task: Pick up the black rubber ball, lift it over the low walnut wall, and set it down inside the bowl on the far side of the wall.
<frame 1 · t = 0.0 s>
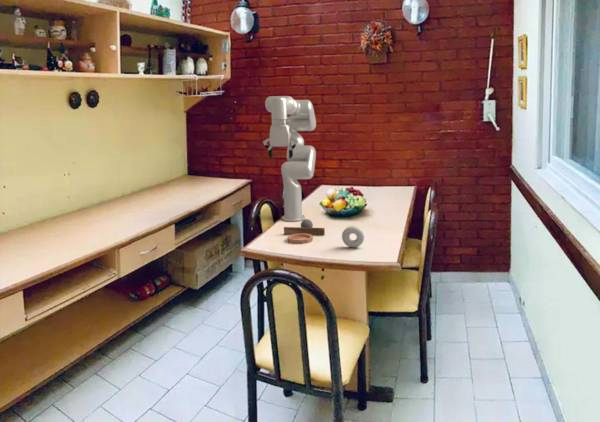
hand: (280, 158, 274), 37 cm above the table, tool pointing down, fingers open, 9 cm apart
donut: (353, 248, 250), on the table
wall: (304, 234, 273), on the table
ball: (306, 225, 279), point 3 cm above the table
bowl: (300, 240, 263), on the table
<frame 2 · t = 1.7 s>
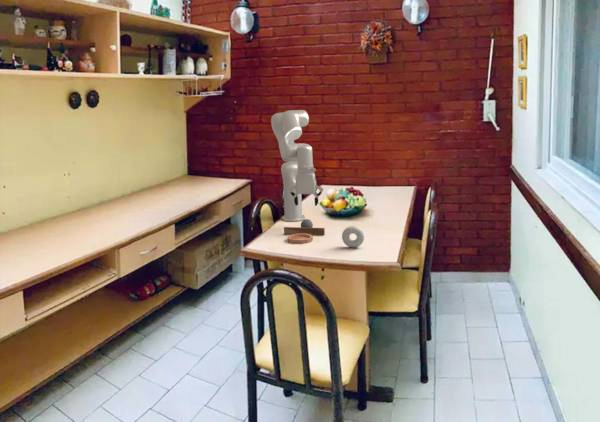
hand: (306, 205, 276), 13 cm above the table, tool pointing down, fingers open, 9 cm apart
nothing on the table moved.
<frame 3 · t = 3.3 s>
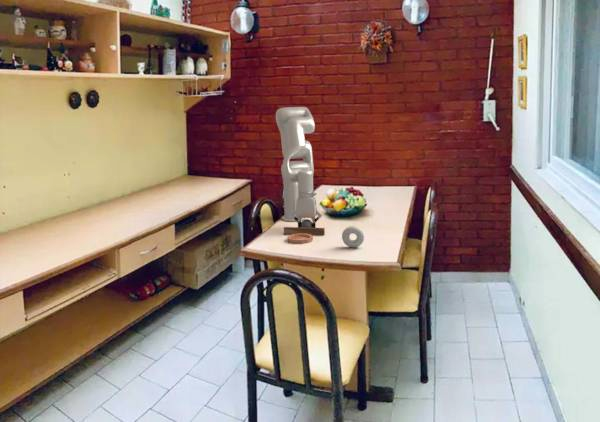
hand: (306, 229, 279), 1 cm above the table, tool pointing down, fingers closed on ball, 5 cm apart
ball: (306, 225, 279), point 3 cm above the table, touching gripper
everything else where it was.
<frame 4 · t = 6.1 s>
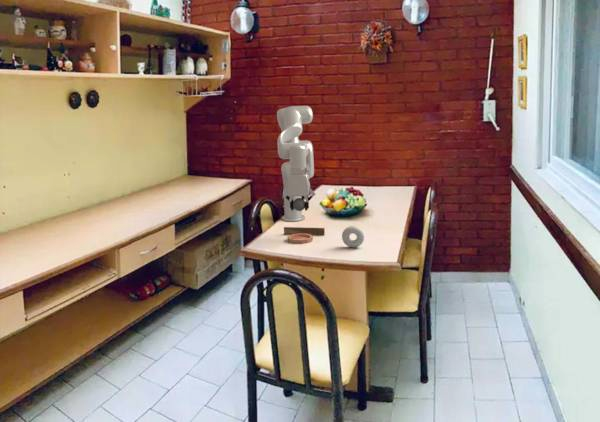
hand: (299, 209, 260), 15 cm above the table, tool pointing down, fingers closed on ball, 5 cm apart
ball: (299, 204, 260), point 17 cm above the table, touching gripper
everything else where it was.
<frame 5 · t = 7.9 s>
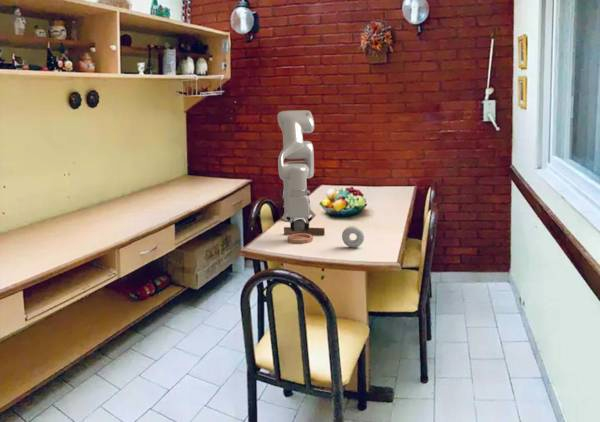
hand: (299, 230, 262), 5 cm above the table, tool pointing down, fingers closed on ball, 5 cm apart
ball: (299, 225, 262), point 7 cm above the table, touching gripper
everything else where it was.
when the fingers open (3 cm above the table, at t = 9.3 s): ball drops 2 cm, resting on bowl.
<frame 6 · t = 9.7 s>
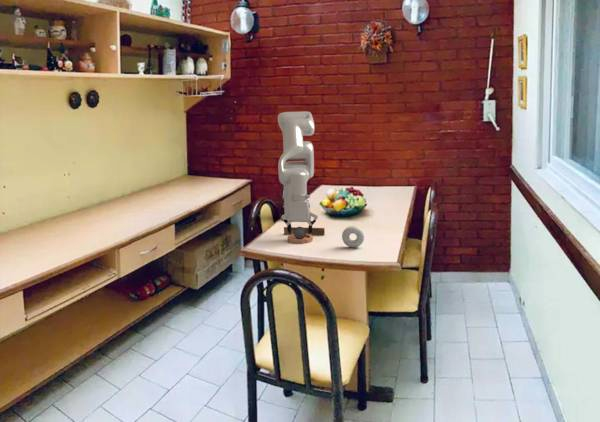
hand: (300, 233, 263), 3 cm above the table, tool pointing down, fingers open, 9 cm apart
ball: (299, 233, 263), point 4 cm above the table, touching bowl
everything else where it was.
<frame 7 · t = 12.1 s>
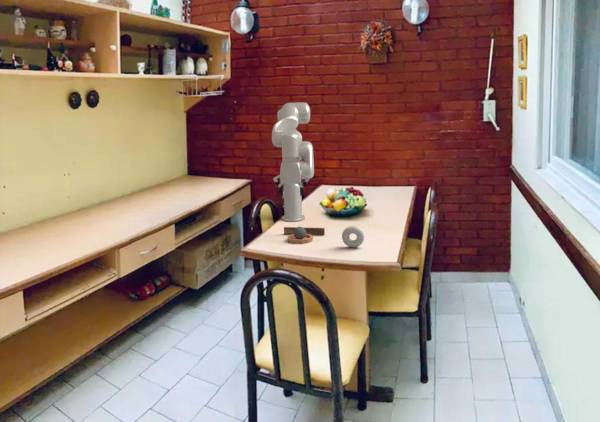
hand: (291, 195, 266), 20 cm above the table, tool pointing down, fingers open, 9 cm apart
nothing on the table moved.
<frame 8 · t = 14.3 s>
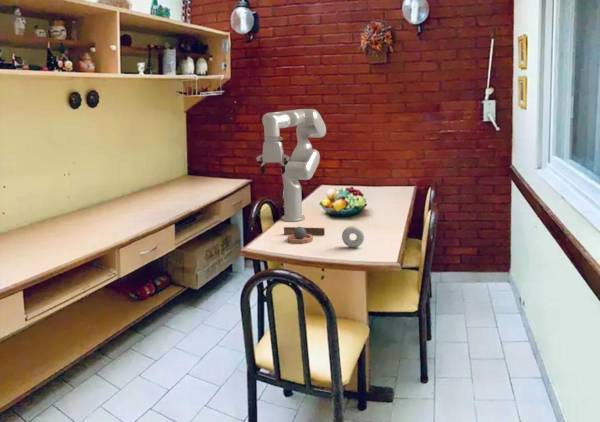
hand: (273, 173, 280), 28 cm above the table, tool pointing down, fingers open, 9 cm apart
nothing on the table moved.
at the end: ball 0.1 cm from the bowl (horizontally); ball point 3.6 cm above the table; the gripper is holding nothing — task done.
